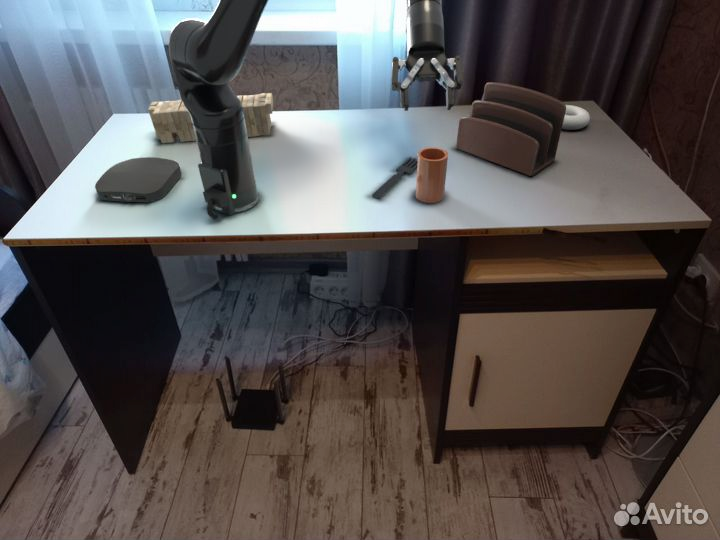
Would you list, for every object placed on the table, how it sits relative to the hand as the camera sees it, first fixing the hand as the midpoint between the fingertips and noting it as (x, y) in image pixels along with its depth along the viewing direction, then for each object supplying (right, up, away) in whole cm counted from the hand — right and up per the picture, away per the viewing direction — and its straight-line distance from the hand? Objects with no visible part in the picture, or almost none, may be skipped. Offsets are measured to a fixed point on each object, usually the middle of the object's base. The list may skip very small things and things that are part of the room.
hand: (427, 108), depth 101 cm
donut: (+38, +4, +26) cm, 46 cm away
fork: (-6, -13, +6) cm, 15 cm away
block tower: (-49, +2, +26) cm, 56 cm away
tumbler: (0, -17, +1) cm, 17 cm away
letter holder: (+19, -6, +14) cm, 24 cm away
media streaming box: (-60, -14, +7) cm, 62 cm away
